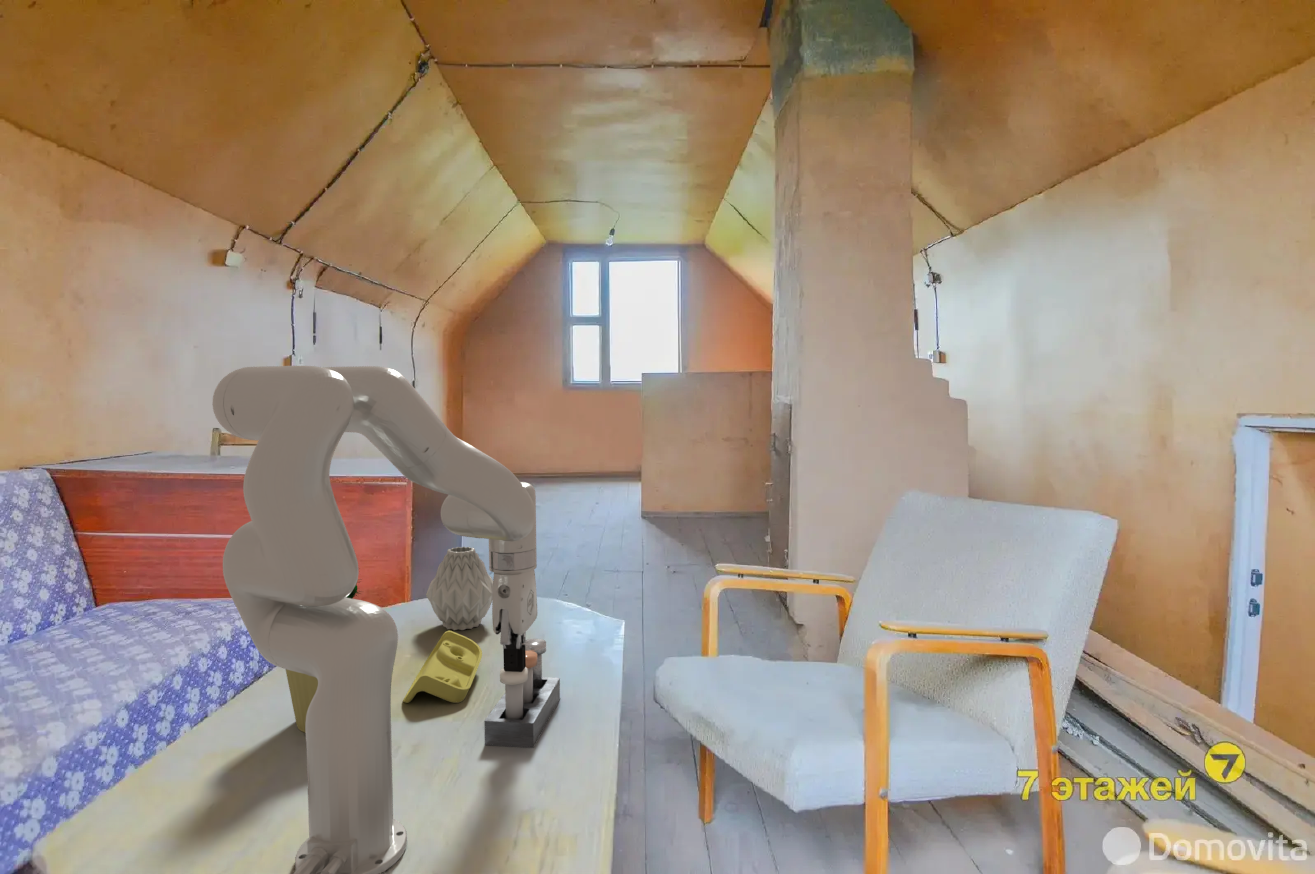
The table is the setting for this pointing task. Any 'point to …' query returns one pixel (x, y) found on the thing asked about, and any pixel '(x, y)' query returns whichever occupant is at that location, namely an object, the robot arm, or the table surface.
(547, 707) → the grey socket block
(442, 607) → the vase
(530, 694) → the terracotta plunger
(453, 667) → the plastic component
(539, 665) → the grey plunger
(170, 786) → the table surface
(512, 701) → the ivory plunger
